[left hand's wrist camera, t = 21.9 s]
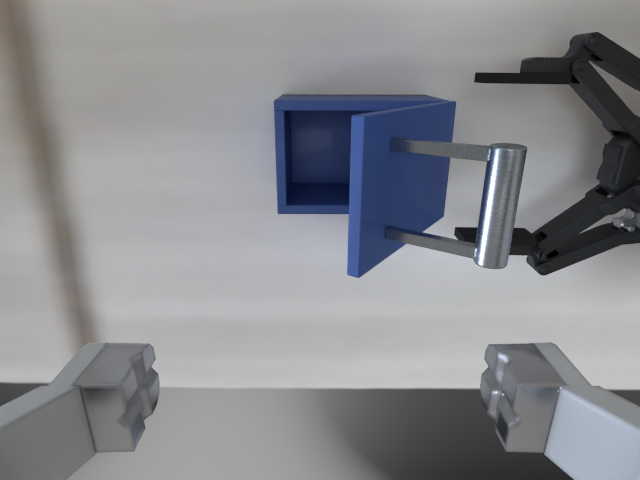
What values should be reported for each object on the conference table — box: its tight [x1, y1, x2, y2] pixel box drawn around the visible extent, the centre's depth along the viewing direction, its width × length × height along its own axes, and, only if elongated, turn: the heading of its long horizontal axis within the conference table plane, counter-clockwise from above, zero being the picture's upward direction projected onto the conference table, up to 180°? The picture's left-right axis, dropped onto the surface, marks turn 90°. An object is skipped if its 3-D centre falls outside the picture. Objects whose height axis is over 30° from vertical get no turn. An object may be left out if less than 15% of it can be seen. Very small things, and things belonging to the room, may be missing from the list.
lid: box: [347, 101, 527, 278], centre depth 28 cm, size 14×9×8 cm
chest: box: [274, 95, 448, 214], centre depth 40 cm, size 14×9×9 cm
